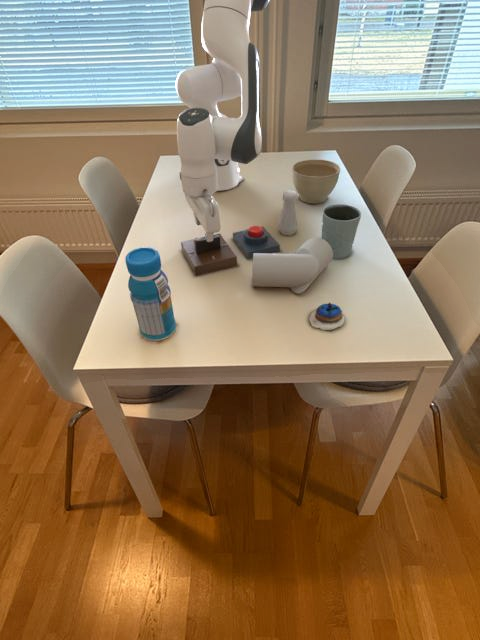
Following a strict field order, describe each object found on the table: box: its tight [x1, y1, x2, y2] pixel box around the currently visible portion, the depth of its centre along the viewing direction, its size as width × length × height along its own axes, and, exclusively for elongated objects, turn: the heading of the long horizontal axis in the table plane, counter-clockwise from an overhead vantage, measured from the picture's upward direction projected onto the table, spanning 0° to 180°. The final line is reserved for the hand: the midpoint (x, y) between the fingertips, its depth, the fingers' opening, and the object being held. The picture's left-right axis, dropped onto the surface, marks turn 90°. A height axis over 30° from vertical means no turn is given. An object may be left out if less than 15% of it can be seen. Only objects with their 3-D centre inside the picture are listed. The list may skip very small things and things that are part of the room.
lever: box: [193, 233, 221, 253], centre depth 111 cm, size 7×2×4 cm, turn 111°
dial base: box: [180, 232, 238, 277], centre depth 113 cm, size 14×12×3 cm
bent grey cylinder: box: [252, 236, 334, 294], centre depth 102 cm, size 18×10×20 cm
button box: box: [232, 226, 281, 260], centre depth 117 cm, size 12×10×4 cm
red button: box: [248, 225, 263, 237], centre depth 115 cm, size 4×4×2 cm
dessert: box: [308, 302, 345, 331], centre depth 92 cm, size 8×7×6 cm
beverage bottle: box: [124, 246, 177, 342], centre depth 85 cm, size 8×8×20 cm
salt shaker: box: [278, 189, 299, 236], centre depth 119 cm, size 6×6×13 cm
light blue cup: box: [320, 203, 362, 260], centre depth 111 cm, size 10×10×12 cm
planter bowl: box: [291, 158, 342, 204], centre depth 138 cm, size 16×16×11 cm
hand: (204, 231), depth 109 cm, fingers open, 8 cm apart
